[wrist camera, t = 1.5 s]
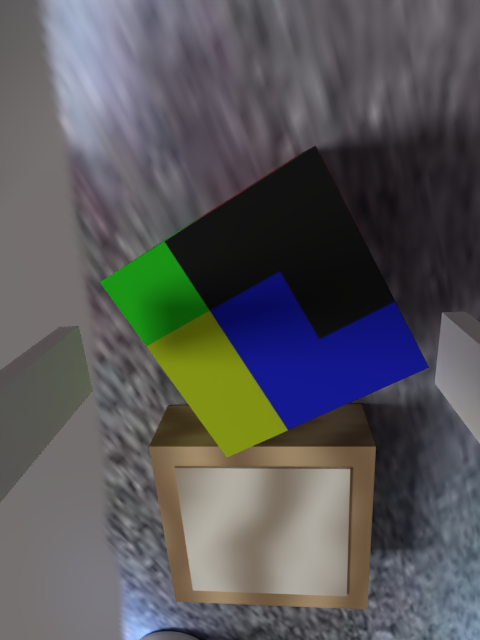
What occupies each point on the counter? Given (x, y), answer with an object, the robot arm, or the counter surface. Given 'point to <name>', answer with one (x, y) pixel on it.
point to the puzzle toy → (268, 308)
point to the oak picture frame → (268, 512)
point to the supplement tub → (168, 636)
